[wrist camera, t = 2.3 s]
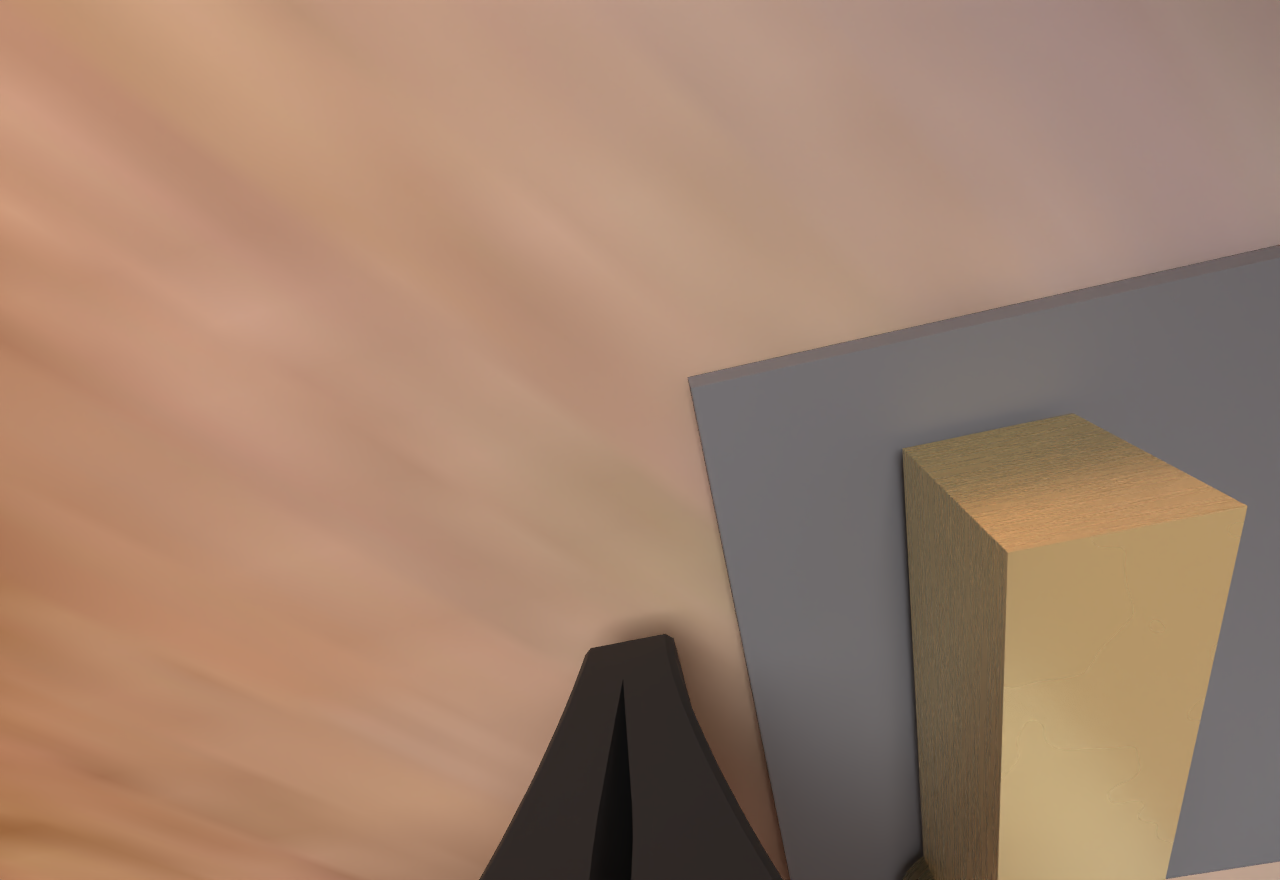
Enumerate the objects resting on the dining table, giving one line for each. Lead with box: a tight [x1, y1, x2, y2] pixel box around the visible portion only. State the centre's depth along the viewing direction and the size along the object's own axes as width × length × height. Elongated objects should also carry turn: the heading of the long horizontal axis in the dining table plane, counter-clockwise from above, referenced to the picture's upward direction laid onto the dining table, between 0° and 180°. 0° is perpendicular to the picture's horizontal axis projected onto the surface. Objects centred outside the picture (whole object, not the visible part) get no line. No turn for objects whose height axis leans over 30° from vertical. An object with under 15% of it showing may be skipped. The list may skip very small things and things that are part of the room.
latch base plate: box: [688, 245, 1280, 880], centre depth 11 cm, size 17×14×1 cm
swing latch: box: [902, 413, 1247, 880], centre depth 10 cm, size 13×4×3 cm, turn 13°
